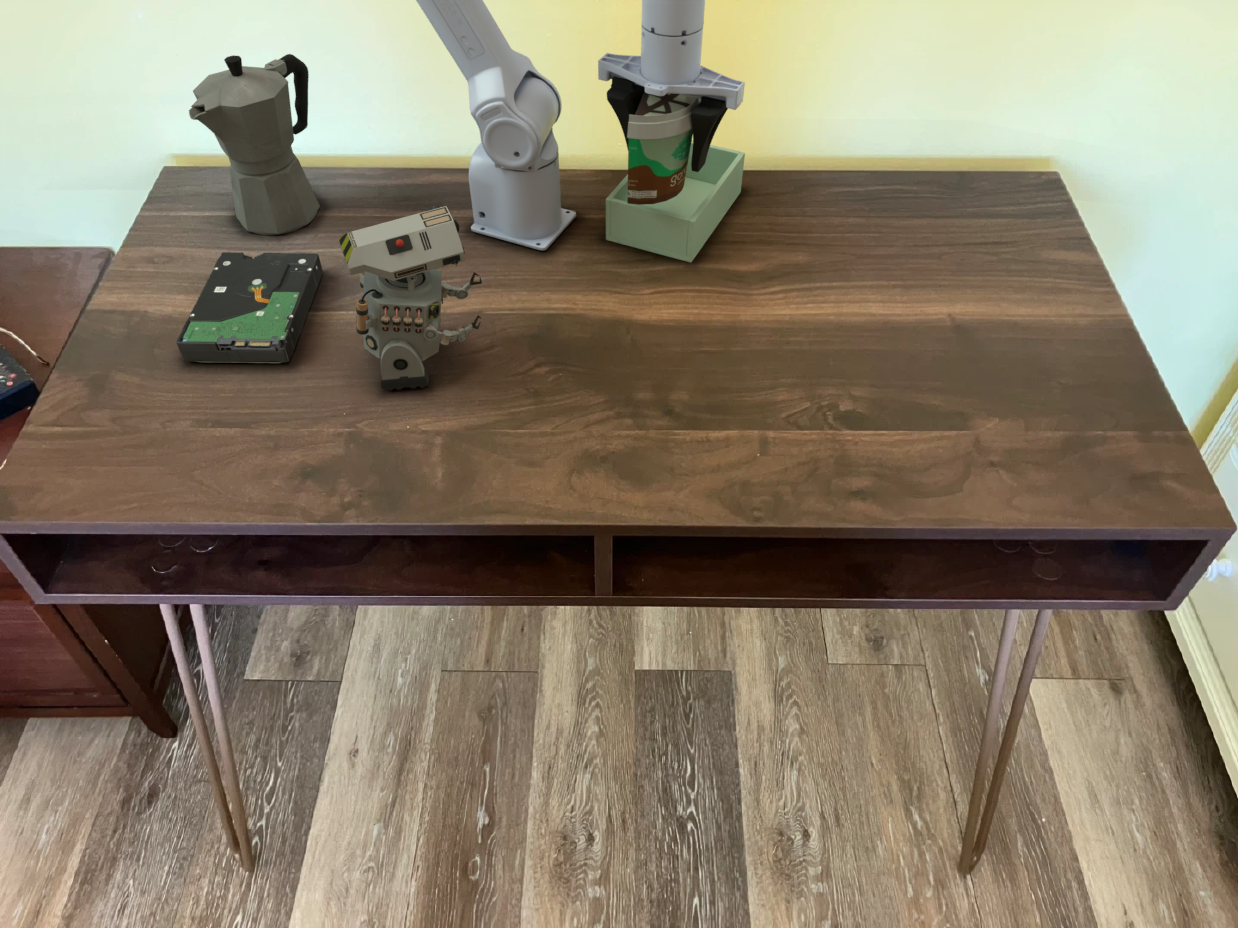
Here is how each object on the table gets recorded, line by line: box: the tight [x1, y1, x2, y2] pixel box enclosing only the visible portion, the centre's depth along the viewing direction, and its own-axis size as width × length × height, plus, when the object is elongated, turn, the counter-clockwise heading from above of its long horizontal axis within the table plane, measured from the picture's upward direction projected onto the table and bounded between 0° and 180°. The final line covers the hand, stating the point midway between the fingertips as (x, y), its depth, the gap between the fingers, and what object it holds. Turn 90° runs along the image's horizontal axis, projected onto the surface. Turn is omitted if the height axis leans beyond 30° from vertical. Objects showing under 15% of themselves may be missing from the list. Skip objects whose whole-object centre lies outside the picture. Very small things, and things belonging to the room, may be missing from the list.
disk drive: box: [176, 251, 324, 364], centre depth 93 cm, size 10×3×15 cm
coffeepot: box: [188, 53, 321, 236], centre depth 101 cm, size 15×9×18 cm, turn 149°
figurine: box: [337, 204, 483, 392], centre depth 85 cm, size 9×12×15 cm
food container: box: [627, 92, 701, 205], centre depth 95 cm, size 12×6×10 cm, turn 167°
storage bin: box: [605, 140, 746, 263], centre depth 105 cm, size 10×16×5 cm, turn 155°
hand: (666, 159), depth 96 cm, fingers closed on food container, 6 cm apart
